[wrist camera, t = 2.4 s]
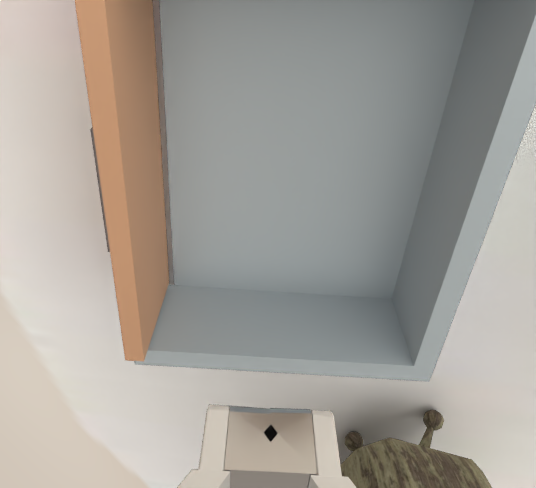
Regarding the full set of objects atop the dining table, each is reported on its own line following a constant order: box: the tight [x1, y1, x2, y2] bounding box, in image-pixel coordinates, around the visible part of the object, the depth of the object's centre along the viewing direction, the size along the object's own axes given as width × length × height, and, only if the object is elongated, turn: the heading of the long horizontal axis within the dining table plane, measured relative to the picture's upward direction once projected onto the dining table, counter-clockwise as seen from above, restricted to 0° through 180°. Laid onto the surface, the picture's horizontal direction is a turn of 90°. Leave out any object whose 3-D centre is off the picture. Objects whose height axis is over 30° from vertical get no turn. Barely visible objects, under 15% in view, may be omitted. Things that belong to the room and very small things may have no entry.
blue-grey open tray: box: [135, 0, 536, 381], centre depth 24 cm, size 17×22×7 cm
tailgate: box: [75, 0, 169, 361], centre depth 23 cm, size 1×19×7 cm, turn 176°
